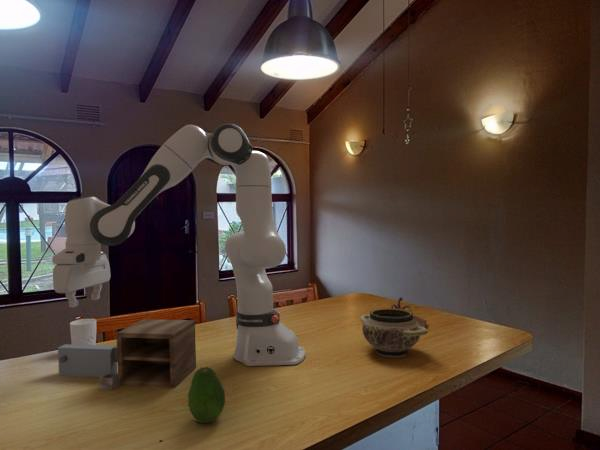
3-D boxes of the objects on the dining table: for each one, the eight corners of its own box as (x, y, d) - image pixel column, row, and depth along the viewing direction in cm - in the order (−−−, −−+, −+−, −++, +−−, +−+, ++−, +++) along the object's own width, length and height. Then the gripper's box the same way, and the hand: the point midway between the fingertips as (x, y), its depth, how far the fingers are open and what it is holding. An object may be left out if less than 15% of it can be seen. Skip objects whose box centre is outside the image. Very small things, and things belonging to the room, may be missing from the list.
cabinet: (196, 367, 126) (194, 320, 126) (169, 393, 109) (167, 338, 109) (135, 365, 129) (133, 318, 129) (99, 389, 112) (97, 336, 112)
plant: (433, 324, 169) (433, 296, 169) (416, 337, 153) (416, 306, 152) (385, 318, 180) (385, 291, 180) (365, 329, 164) (364, 300, 163)
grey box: (56, 377, 122) (54, 349, 121) (66, 371, 126) (65, 344, 125) (120, 380, 119) (119, 351, 118) (128, 374, 123) (127, 346, 123)
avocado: (181, 426, 92) (179, 371, 92) (202, 410, 100) (200, 359, 99) (213, 433, 89) (212, 375, 89) (232, 415, 97) (231, 362, 96)
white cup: (102, 348, 145) (101, 319, 145) (84, 356, 138) (83, 325, 138) (84, 346, 148) (83, 317, 148) (65, 354, 141) (64, 323, 140)
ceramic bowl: (437, 368, 130) (444, 318, 132) (397, 366, 120) (406, 312, 122) (378, 347, 150) (385, 304, 152) (340, 344, 140) (348, 298, 142)
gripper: (96, 250, 132) (97, 295, 133) (47, 258, 112) (49, 311, 113) (115, 250, 131) (116, 295, 132) (69, 258, 111) (71, 311, 112)
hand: (85, 303), depth 122 cm, fingers open, 8 cm apart
